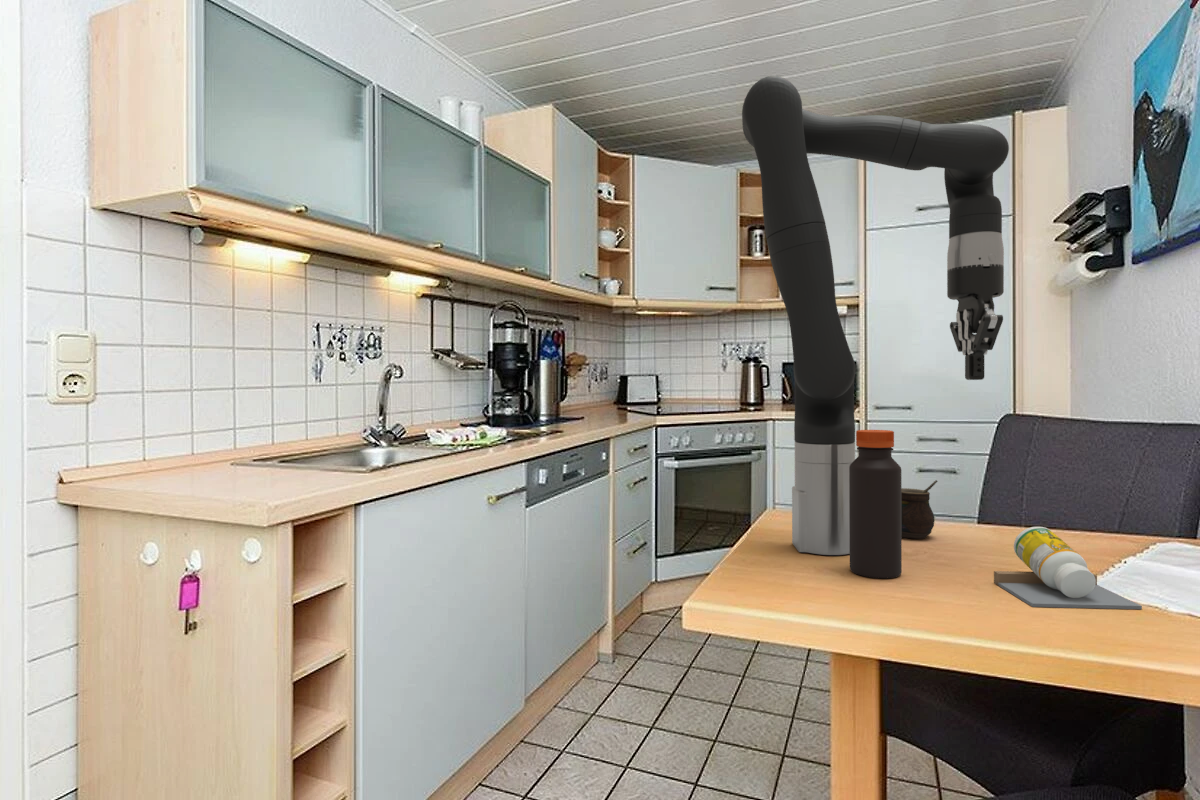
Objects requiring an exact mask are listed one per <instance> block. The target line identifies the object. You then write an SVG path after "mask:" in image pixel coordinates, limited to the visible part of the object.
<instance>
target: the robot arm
mask: <svg viewBox="0 0 1200 800" xmlns="http://www.w3.org/2000/svg"><path fill="white" fill-rule="evenodd" d="M741 110H742V111H741V119H742V120H741V122H742V123H741V124H742V133H743V135H744V137H745V140H746V141H747V143H749V145H750V146H752V147H753V149H754V152H755V155H756V159H757V162H758V168H759V173H760V182H761V199H762V201H761V202H762V214H763V215H762V216H763V224H764V232H765V238H766V243H767V249H768V253H769V259H770V262H771V267H772V271H773V274H774V277H775V281H776V284H777V287H778V290H779V292H780V296H781V298H782V301H783V303H784V306H785V309H786V313H787V317H788V322H789V329H790V330H789V331H790V337H791V346H792V347H791V348H792V359H793V377H794V422H793V423H794V424H793V425H794V426H793V427H794V428H793V429H794V436H793V437H794V486H792V488H791V523H792V524H791V537H792V538H791V541H792V542H791V544H792V545H793V546H794V548H795V549H796V550H797V551H798V553H807V554H808V553H809V554H815V555H823V556H842V555H843V556H844V555H850V530H849V466H850V464H851V463H852V462H853V461H854V460H855V459H856V425H855V424H856V423H855V379H856V371H857V369H856V368H857V367H856V363H855V360H854V357H853V355H852V352H851V349H850V347H849V344H848V341H847V338H846V334H845V332H844V329H843V326H842V322H841V319H840V313H839V311H838V306H837V299H836V286H835V285H836V284H835V274H834V272H835V271H834V264H833V259H832V257H833V256H832V250H831V245H830V240H829V236H828V235H829V234H828V230H827V224H826V221H825V216H824V212H823V208H822V205H821V201H820V197H819V194H818V190H817V186H816V183H815V180H814V176H813V173H812V170H811V167H810V163H809V158H808V155H807V154H813V155H822V156H823V155H825V156H832V157H833V156H834V157H840V158H849V159H855V160H859V161H863V162H870V163H875V164H878V165H879V164H880V165H884V166H889V167H894V168H897V169H902V170H903V169H904V170H908V171H922V170H925V169H927V168H938V169H944V177H943V178H944V186H945V194H946V197H947V198H946V199H947V203H948V207H949V220H948V226H949V227H948V247H947V253H946V254H947V256H946V258H947V259H946V260H947V261H946V266H947V269H946V270H947V273H946V277H947V278H946V280H947V281H946V282H947V283H946V287H947V288H946V290H947V291H946V292H947V293H946V294H947V295H946V296H947V298H948V299H949V300H953V301H955V300H956V301H957V302H958V304H957V309H956V313H955V319H956V320H955V321H951V322H950V323H949V329H950V332H951V334H952V337H953V340H954V343H955V346H956V350H957V352H959V353H962V356H964V377H965V380H967V381H977V380H979V381H982V380H984V379H985V356H986V355H988V351H992V350H993V349H994V346H995V343H996V340H997V338H998V336H999V333H1000V332H999V331H1000V329H1001V327H1002V325H1003V322H1004V316H1003V314H996V313H995V303H994V298H997V297H1000V296H1002V295H1003V294H1004V281H1005V279H1004V278H1005V276H1004V271H1005V269H1004V268H1005V267H1004V264H1005V263H1004V262H1005V261H1004V259H1005V258H1004V257H1005V256H1004V255H1005V253H1004V242H1003V235H1002V232H1003V229H1002V227H1003V219H1002V218H1003V217H1002V216H1003V211H1002V210H1003V209H1002V202H1001V200H1000V198H998V197H997V196H996V195H995V193H994V191H995V190H994V181H993V179H994V173H995V172H996V171H998V170H999V169H1000V168H1001V167H1002V166H1003V164H1004V163H1005V161H1006V159H1007V158H1008V155H1009V149H1010V147H1009V142H1008V139H1007V138H1006V136H1005V135H1004V134H1003V133H1002V132H1000V131H999V130H997V129H996V128H993V127H991V126H986V125H982V124H976V123H975V124H973V123H972V124H971V123H935V124H934V123H928V122H925V121H920V120H915V119H909V118H905V117H901V116H900V117H899V116H893V115H885V114H882V115H881V114H877V115H875V114H873V115H872V114H870V115H856V116H834V115H826V114H820V113H815V112H812V111H809V110H807V109H803V102H802V97H801V94H800V93H799V90H798V89H797V87H796V86H795V85H794V84H793V83H792V82H791V81H789V80H788V79H786V78H784V77H781V76H778V75H769V76H768V75H767V76H765V77H762V78H761V79H759V80H757V81H756V82H755V83H754V84H753V85H752V86H751V88H750V89H749V90H748V92H747V94H746V96H745V98H744V100H743V104H742V109H741Z"/></svg>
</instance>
